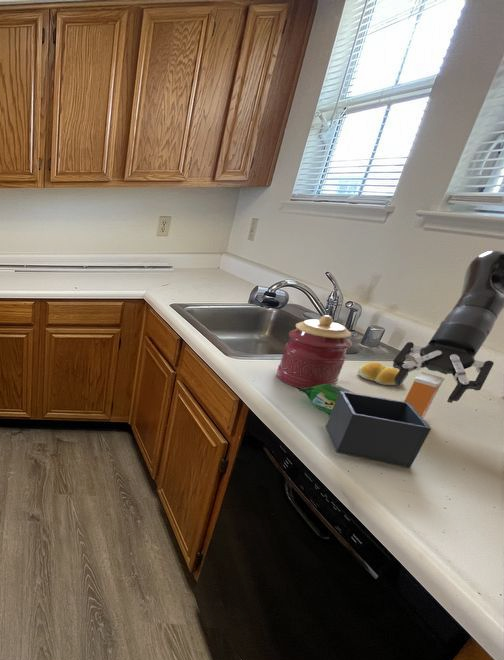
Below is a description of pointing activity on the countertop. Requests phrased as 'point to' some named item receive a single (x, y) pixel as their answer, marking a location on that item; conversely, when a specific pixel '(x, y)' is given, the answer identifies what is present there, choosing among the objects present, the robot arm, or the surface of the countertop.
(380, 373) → the bread roll
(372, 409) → the storage bin
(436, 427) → the countertop surface
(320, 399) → the snack package
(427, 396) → the drink carton
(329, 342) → the kitchen canister
